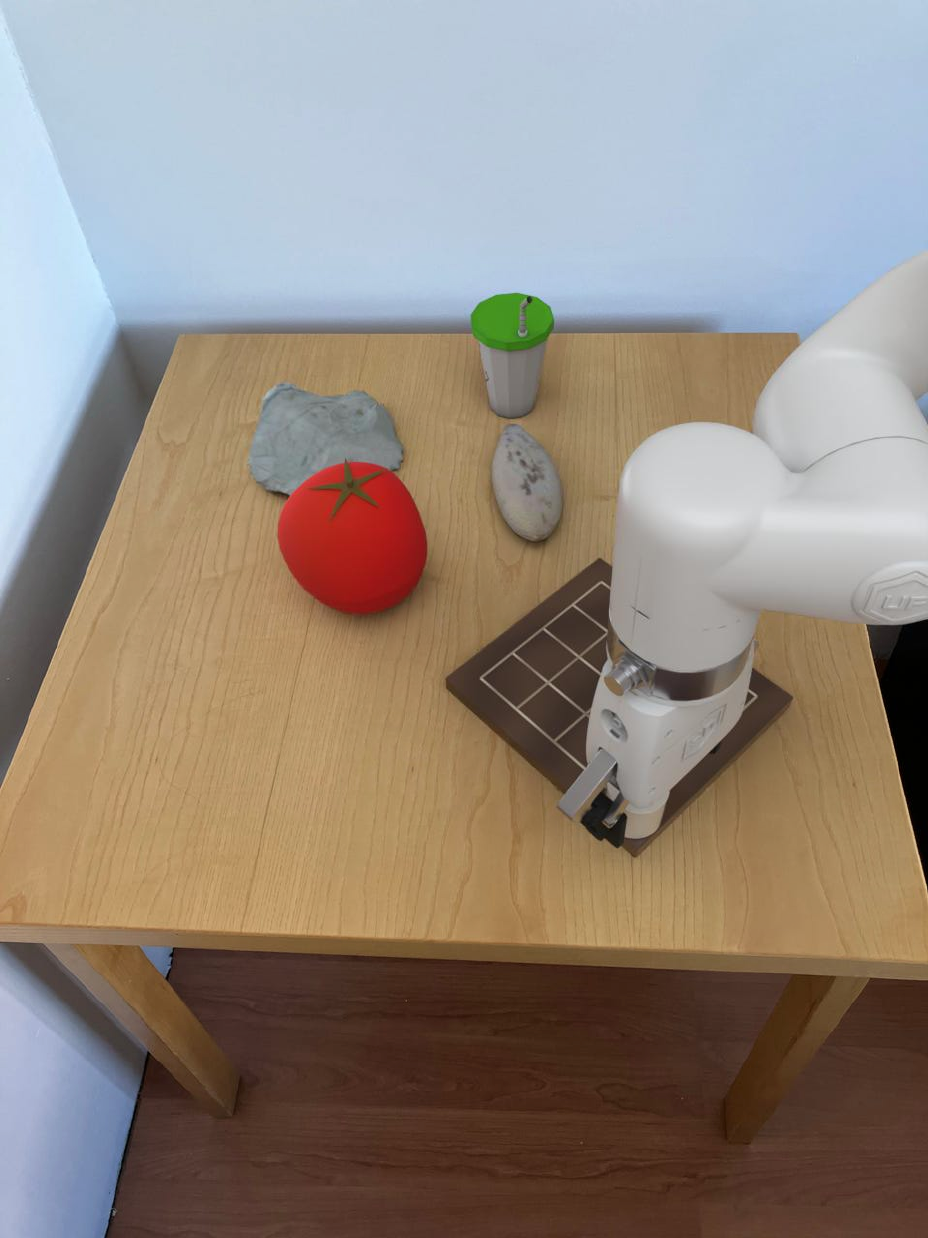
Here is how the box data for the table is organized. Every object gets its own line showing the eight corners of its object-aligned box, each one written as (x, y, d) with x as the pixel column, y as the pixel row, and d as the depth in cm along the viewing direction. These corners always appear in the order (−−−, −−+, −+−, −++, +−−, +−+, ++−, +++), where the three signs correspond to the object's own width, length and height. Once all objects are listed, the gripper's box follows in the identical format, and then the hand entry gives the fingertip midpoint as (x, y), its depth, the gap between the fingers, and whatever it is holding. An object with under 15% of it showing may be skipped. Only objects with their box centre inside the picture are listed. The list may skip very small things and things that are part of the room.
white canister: (675, 812, 68) (682, 785, 65) (635, 851, 66) (641, 825, 63) (630, 774, 70) (635, 746, 67) (590, 810, 68) (594, 784, 65)
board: (789, 707, 74) (794, 696, 73) (635, 859, 67) (637, 849, 66) (598, 568, 84) (599, 556, 83) (445, 688, 77) (444, 677, 76)
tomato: (454, 556, 85) (445, 451, 75) (400, 657, 79) (383, 556, 69) (331, 522, 89) (307, 416, 79) (269, 615, 82) (235, 513, 72)
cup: (481, 375, 100) (477, 244, 89) (555, 382, 99) (561, 250, 87) (466, 425, 96) (460, 293, 84) (544, 433, 95) (548, 300, 83)
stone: (308, 511, 85) (205, 414, 90) (309, 541, 89) (209, 445, 94) (434, 433, 93) (333, 347, 97) (430, 463, 96) (332, 378, 101)
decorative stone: (539, 433, 95) (540, 406, 92) (576, 548, 85) (578, 521, 83) (478, 442, 94) (477, 415, 92) (509, 558, 85) (509, 532, 82)
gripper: (622, 781, 46) (606, 910, 60) (835, 580, 52) (776, 739, 66) (513, 688, 50) (521, 830, 63) (724, 512, 56) (690, 675, 70)
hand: (651, 783), depth 65 cm, fingers open, 9 cm apart
